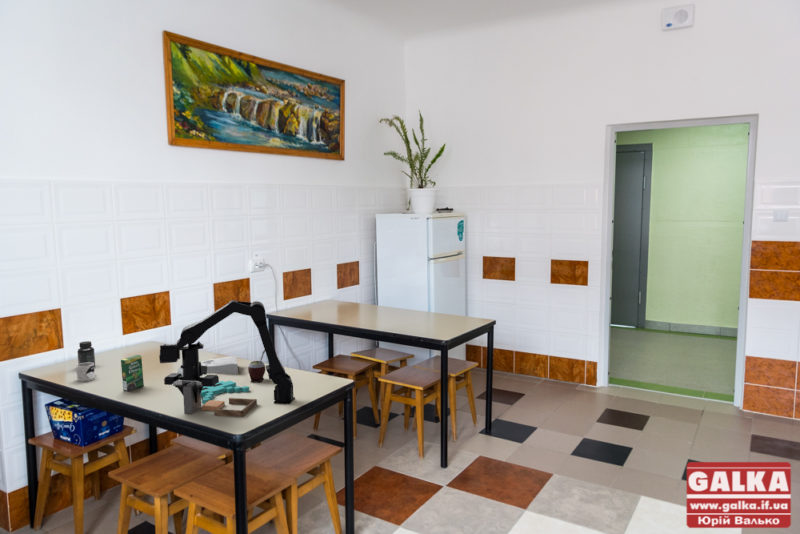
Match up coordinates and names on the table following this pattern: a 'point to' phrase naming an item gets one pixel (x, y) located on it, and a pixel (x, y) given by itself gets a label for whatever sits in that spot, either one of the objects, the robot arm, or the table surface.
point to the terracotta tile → (213, 405)
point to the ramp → (222, 365)
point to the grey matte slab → (190, 399)
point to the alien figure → (221, 390)
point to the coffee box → (132, 373)
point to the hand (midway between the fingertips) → (192, 402)
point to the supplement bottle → (86, 353)
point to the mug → (85, 372)
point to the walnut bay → (241, 413)
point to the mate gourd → (257, 370)
